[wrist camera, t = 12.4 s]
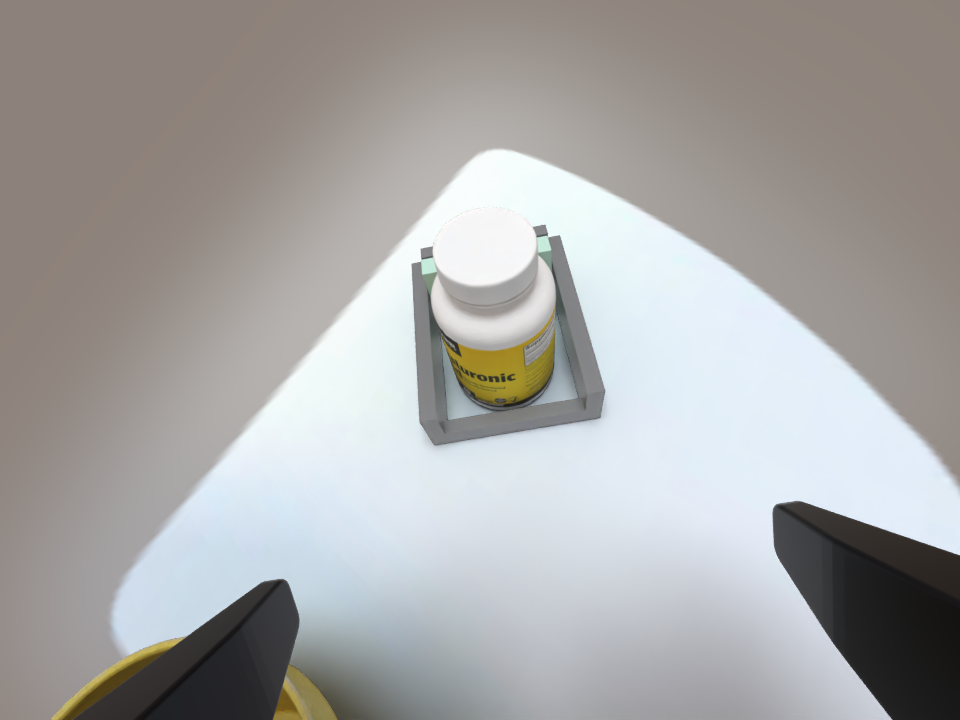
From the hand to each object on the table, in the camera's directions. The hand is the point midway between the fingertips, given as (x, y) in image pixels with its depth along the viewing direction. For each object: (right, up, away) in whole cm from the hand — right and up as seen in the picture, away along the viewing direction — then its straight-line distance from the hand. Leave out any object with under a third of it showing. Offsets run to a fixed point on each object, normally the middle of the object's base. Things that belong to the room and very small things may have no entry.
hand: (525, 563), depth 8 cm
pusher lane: (0, +4, +18) cm, 18 cm away
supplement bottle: (+1, +3, +17) cm, 18 cm away
